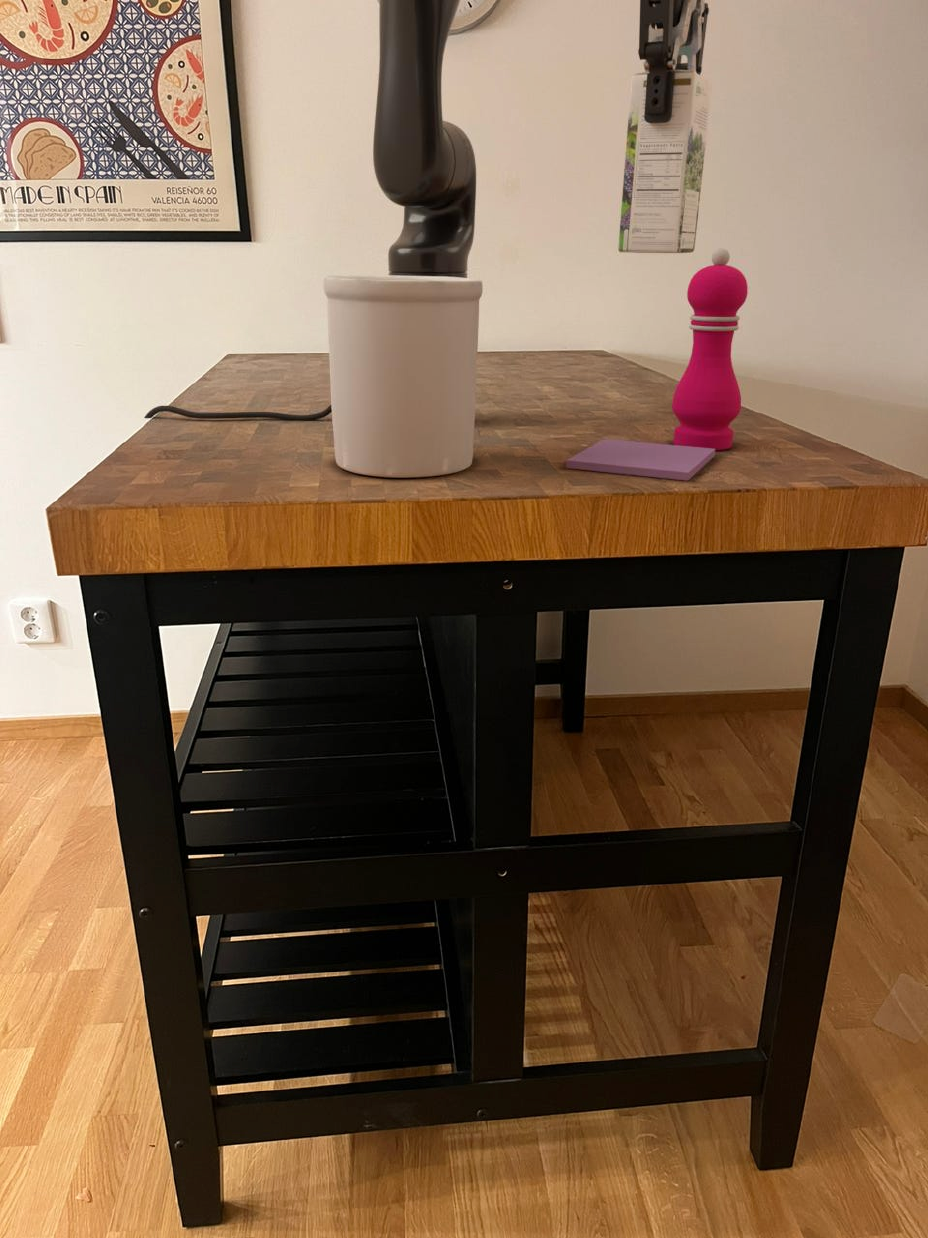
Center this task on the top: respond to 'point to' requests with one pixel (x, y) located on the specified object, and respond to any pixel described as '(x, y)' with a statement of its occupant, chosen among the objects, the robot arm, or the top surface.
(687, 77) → the syrup box
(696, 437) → the pepper mill
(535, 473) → the top surface
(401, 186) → the robot arm
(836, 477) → the top surface
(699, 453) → the place mat
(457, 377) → the utensil holder
